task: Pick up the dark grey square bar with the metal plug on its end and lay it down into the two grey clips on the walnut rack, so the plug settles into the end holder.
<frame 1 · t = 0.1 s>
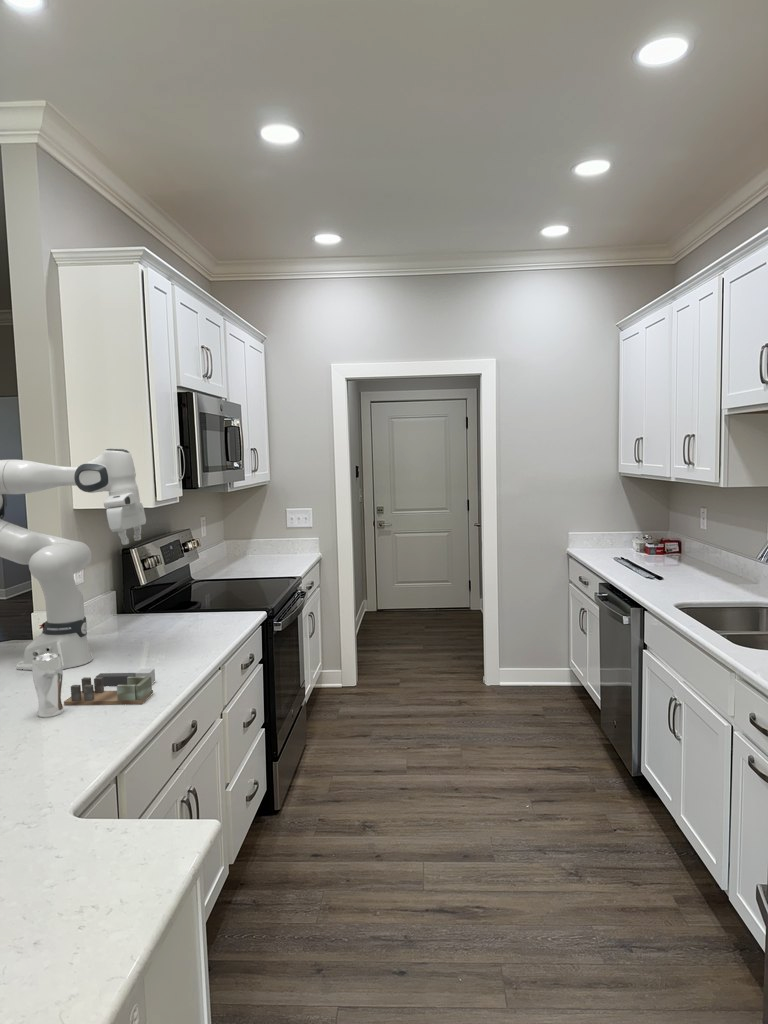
hand: (131, 542, 216), 39 cm above the counter, tool pointing down, fingers open, 8 cm apart
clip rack: (107, 699, 186), on the counter
dark grey square bar: (122, 684, 198), on the counter
beer glass: (50, 713, 177), on the counter
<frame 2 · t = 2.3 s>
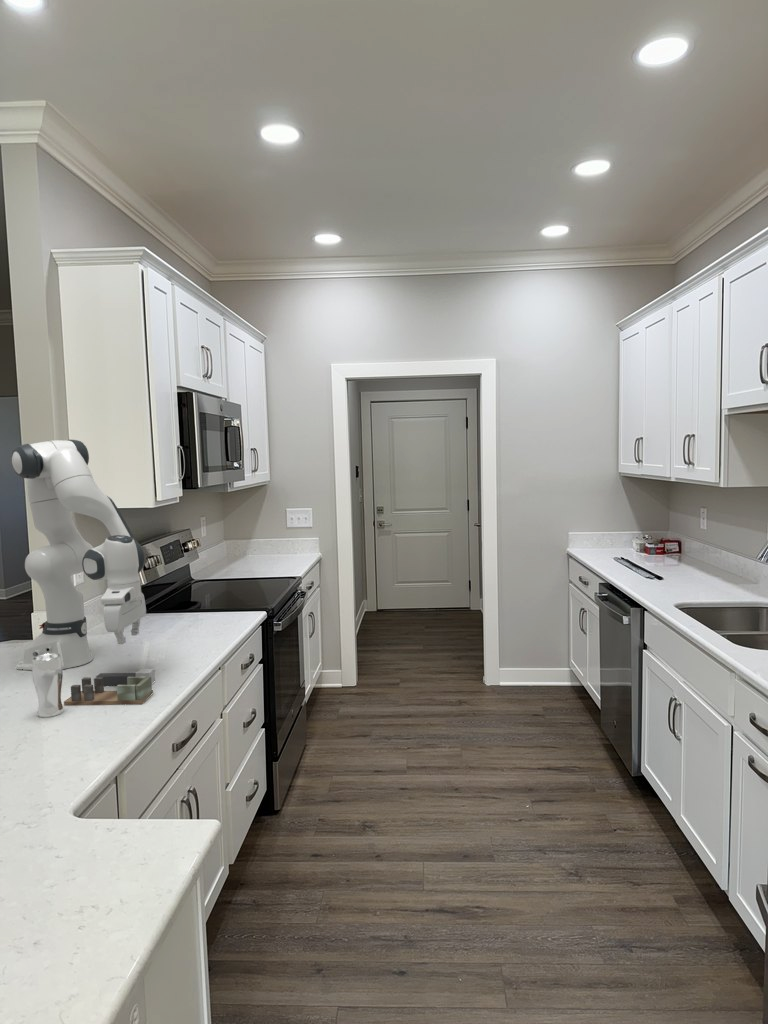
hand: (128, 639, 196), 13 cm above the counter, tool pointing down, fingers open, 8 cm apart
nothing on the counter moved.
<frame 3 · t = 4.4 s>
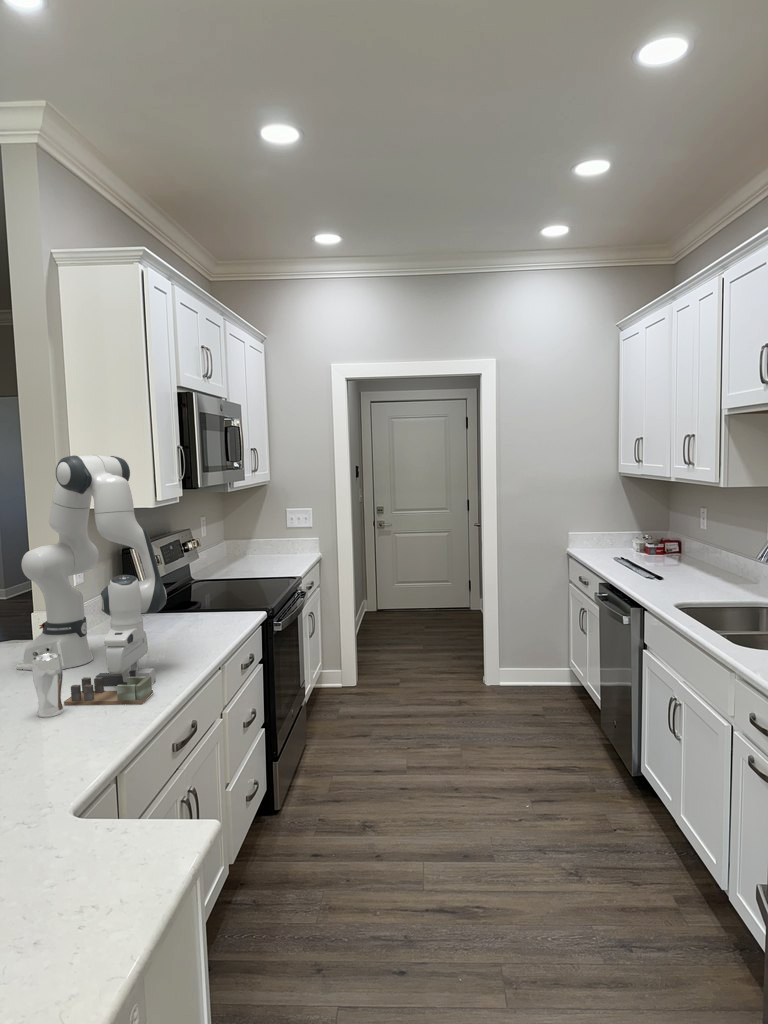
hand: (130, 678, 197), 2 cm above the counter, tool pointing down, fingers closed on dark grey square bar, 3 cm apart
dark grey square bar: (122, 684, 198), on the counter, touching gripper
everything else where it was.
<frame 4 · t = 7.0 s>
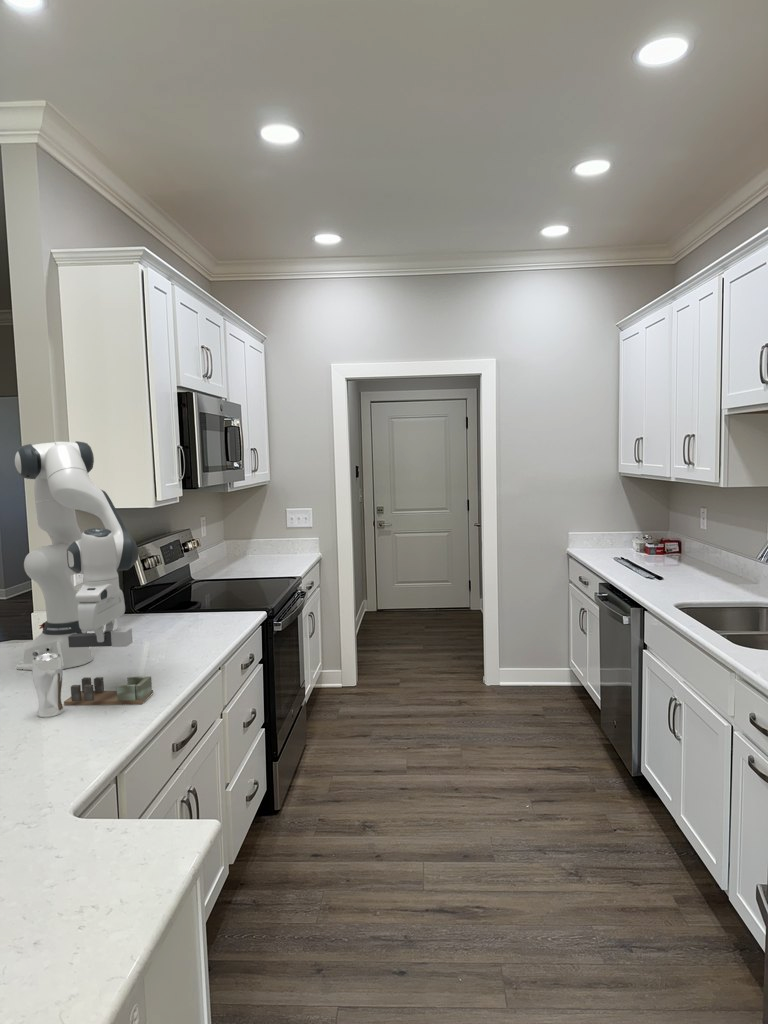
hand: (105, 639, 184), 17 cm above the counter, tool pointing down, fingers closed on dark grey square bar, 3 cm apart
dark grey square bar: (97, 645, 184), point 15 cm above the counter, touching gripper
everything else where it was.
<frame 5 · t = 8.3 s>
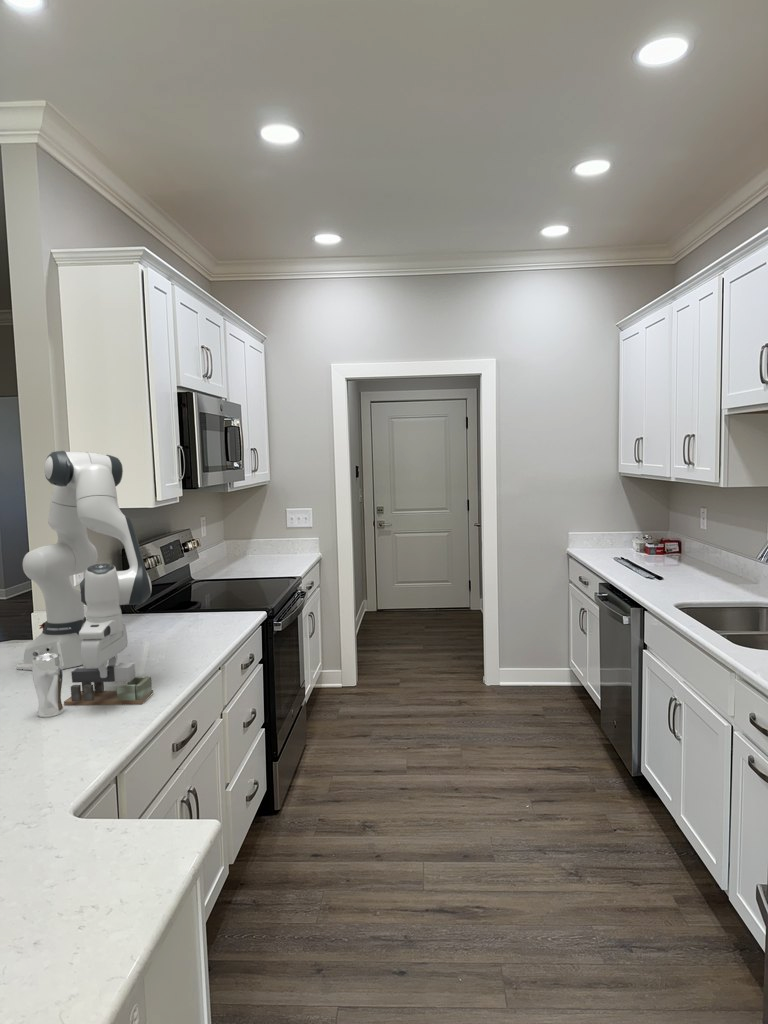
hand: (108, 674, 185), 7 cm above the counter, tool pointing down, fingers closed on dark grey square bar, 3 cm apart
dark grey square bar: (100, 680, 185), point 5 cm above the counter, touching gripper
everything else where it was.
when the fingers open (4 cm above the counter, at t = 9.6 s): dark grey square bar stays where it is, resting on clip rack.
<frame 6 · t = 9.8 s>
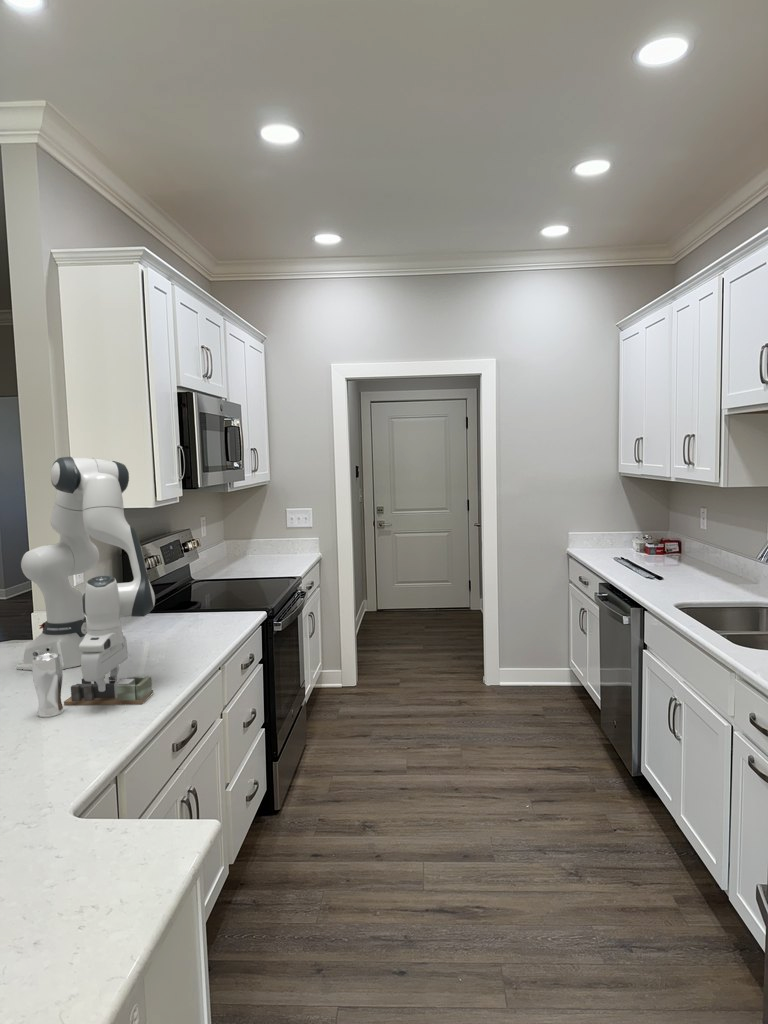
hand: (108, 686, 185), 4 cm above the counter, tool pointing down, fingers open, 5 cm apart
dark grey square bar: (100, 695, 186), point 1 cm above the counter, touching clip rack
everything else where it was.
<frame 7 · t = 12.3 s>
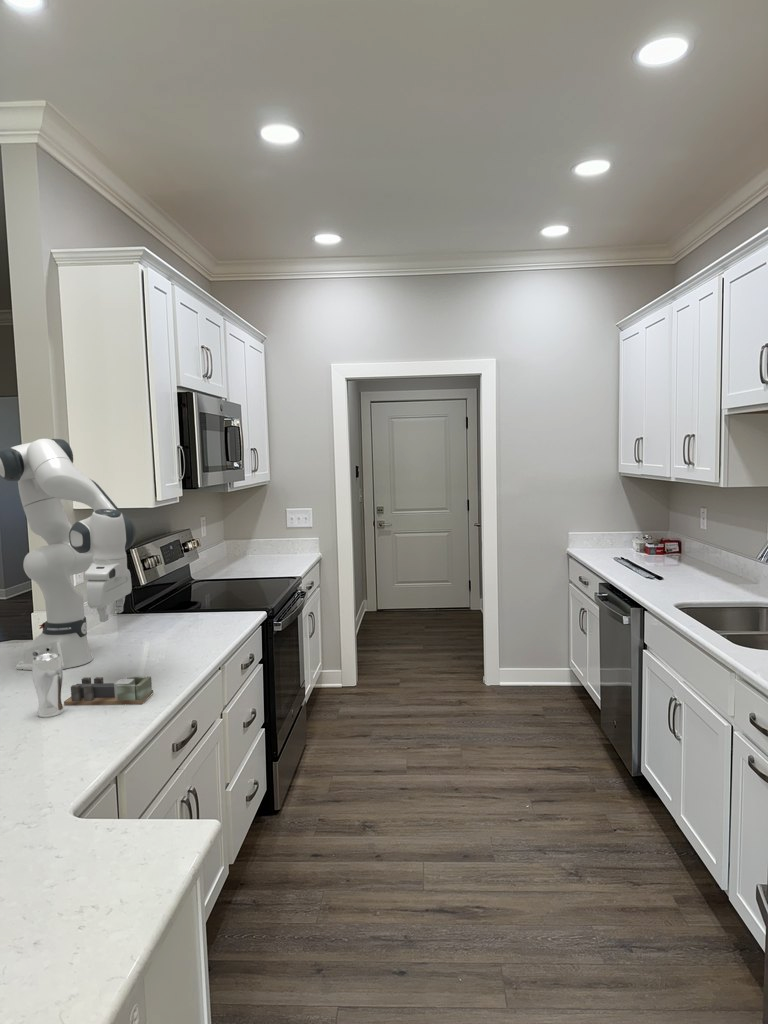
hand: (111, 616, 190), 21 cm above the counter, tool pointing down, fingers open, 8 cm apart
nothing on the counter moved.
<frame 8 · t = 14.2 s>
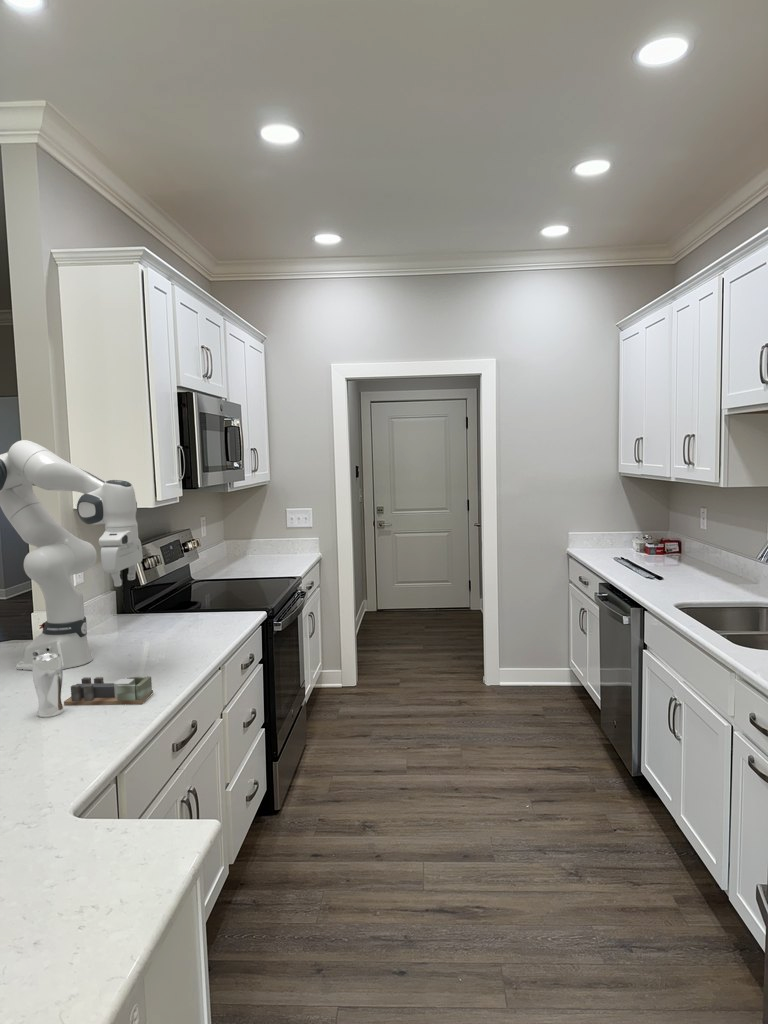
hand: (125, 582, 199), 29 cm above the counter, tool pointing down, fingers open, 8 cm apart
nothing on the counter moved.
at the end: dark grey square bar 0.1 cm from the target spot on the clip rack, point 1.0 cm above the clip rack's base; dark grey square bar tilted 0°; the gripper is holding nothing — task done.
